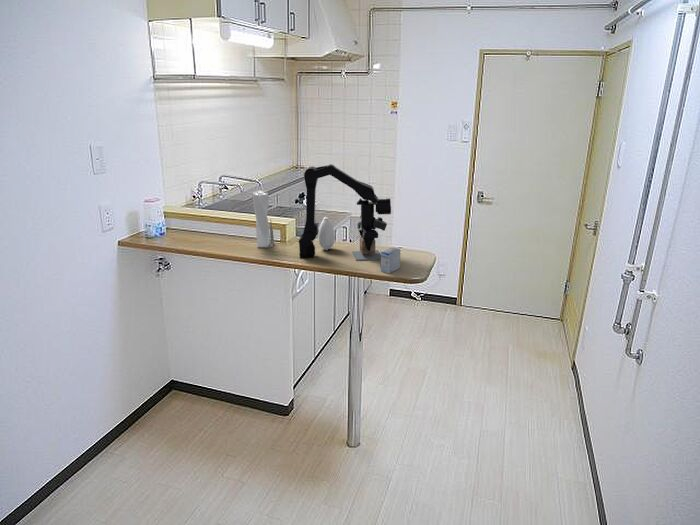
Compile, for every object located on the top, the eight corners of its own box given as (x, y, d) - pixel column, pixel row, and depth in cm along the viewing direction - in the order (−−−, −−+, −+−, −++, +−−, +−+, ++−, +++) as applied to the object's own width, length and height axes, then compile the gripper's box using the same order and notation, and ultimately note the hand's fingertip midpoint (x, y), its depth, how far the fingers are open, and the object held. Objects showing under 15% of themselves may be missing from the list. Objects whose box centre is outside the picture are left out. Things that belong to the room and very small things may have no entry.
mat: (356, 260, 219) (356, 259, 219) (352, 252, 231) (352, 251, 230) (383, 259, 221) (383, 258, 221) (377, 251, 232) (377, 249, 232)
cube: (362, 254, 222) (362, 241, 220) (359, 249, 228) (359, 237, 226) (375, 253, 223) (375, 240, 221) (372, 249, 228) (372, 236, 226)
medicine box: (391, 266, 212) (391, 246, 209) (400, 268, 209) (400, 248, 207) (380, 271, 206) (380, 251, 204) (389, 273, 204) (389, 253, 201)
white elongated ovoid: (333, 252, 231) (332, 214, 225) (316, 251, 233) (315, 213, 227) (336, 247, 238) (336, 210, 233) (320, 246, 240) (319, 209, 234)
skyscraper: (271, 248, 238) (267, 190, 229) (254, 248, 238) (250, 190, 229) (274, 243, 246) (270, 186, 237) (258, 243, 246) (253, 186, 237)
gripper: (390, 218, 212) (389, 253, 217) (381, 208, 229) (380, 241, 234) (364, 219, 210) (364, 255, 215) (357, 209, 228) (357, 242, 233)
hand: (367, 248), depth 225 cm, fingers closed on cube, 6 cm apart
